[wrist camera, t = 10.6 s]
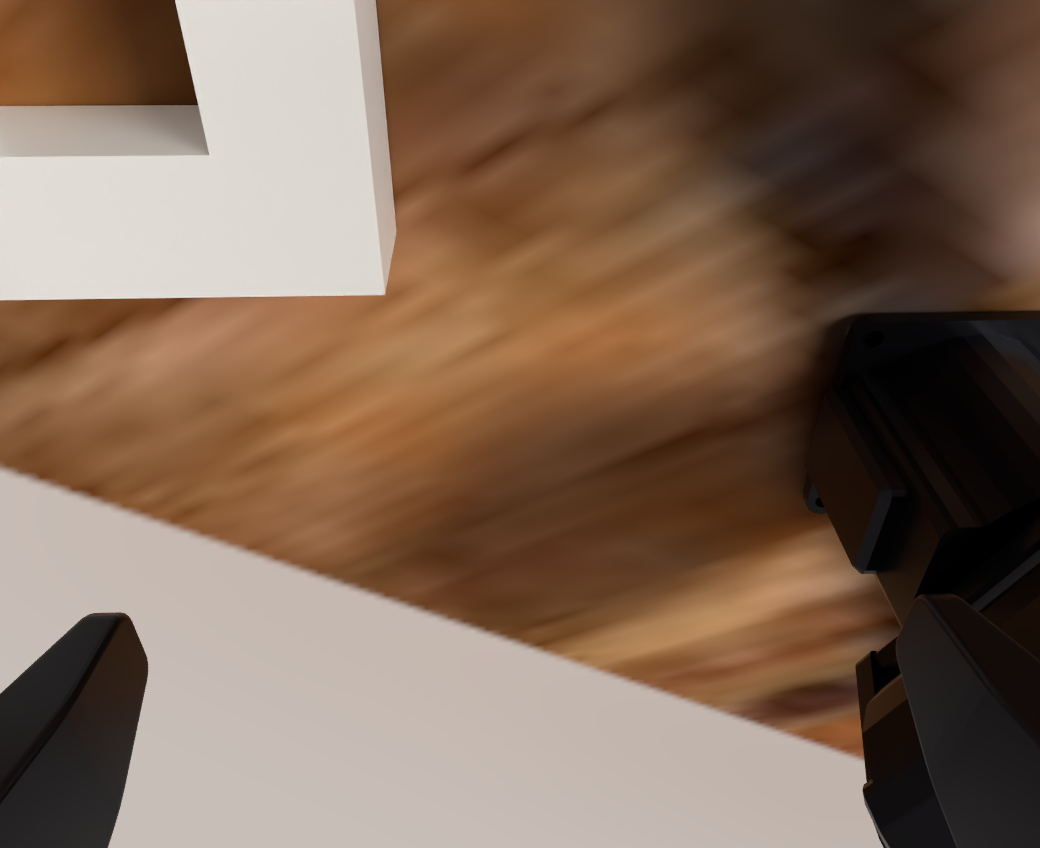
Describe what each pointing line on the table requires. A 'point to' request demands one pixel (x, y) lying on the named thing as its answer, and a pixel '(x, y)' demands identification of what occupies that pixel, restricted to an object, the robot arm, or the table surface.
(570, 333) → the table surface
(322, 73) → the white square frame
